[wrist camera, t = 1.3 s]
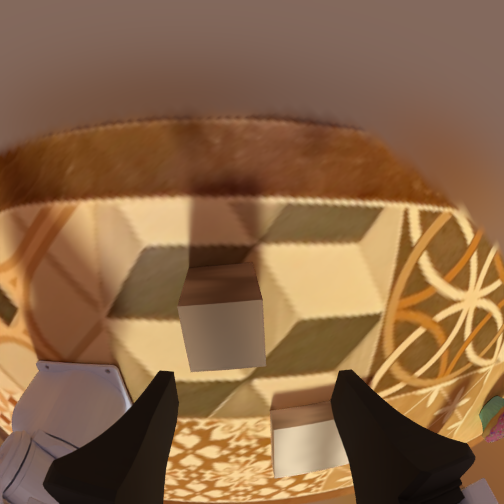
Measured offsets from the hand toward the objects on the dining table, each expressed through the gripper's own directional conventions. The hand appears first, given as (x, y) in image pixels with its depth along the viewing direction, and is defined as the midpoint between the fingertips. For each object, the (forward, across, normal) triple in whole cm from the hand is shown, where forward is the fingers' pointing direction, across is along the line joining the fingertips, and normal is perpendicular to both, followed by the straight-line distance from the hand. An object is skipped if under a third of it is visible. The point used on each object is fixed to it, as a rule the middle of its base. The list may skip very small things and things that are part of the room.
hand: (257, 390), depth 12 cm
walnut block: (+10, +2, 0) cm, 11 cm away
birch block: (+11, -8, +18) cm, 22 cm away
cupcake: (+12, -42, +24) cm, 50 cm away
